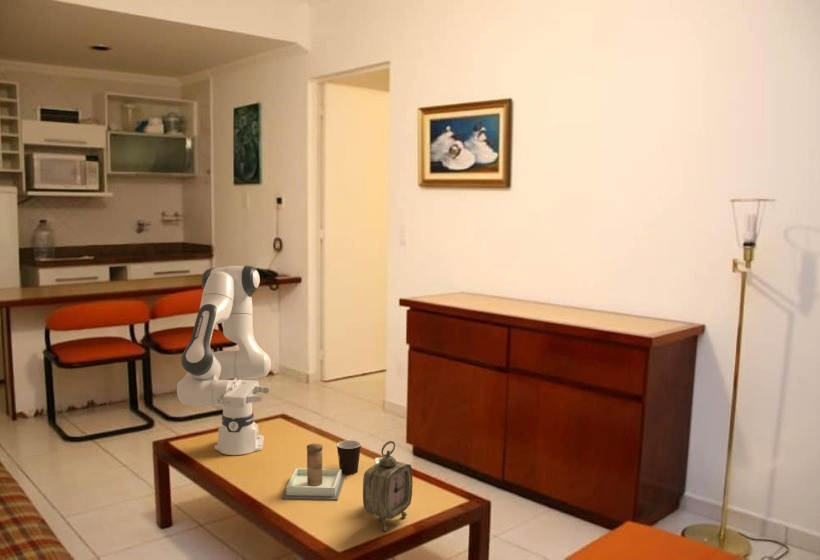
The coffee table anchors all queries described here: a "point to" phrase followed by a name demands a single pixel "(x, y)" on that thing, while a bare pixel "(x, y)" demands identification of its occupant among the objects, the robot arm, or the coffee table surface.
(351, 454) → the coffee mug
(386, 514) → the tabletop clock
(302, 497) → the mat
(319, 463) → the canister
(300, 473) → the dish
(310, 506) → the coffee table surface
